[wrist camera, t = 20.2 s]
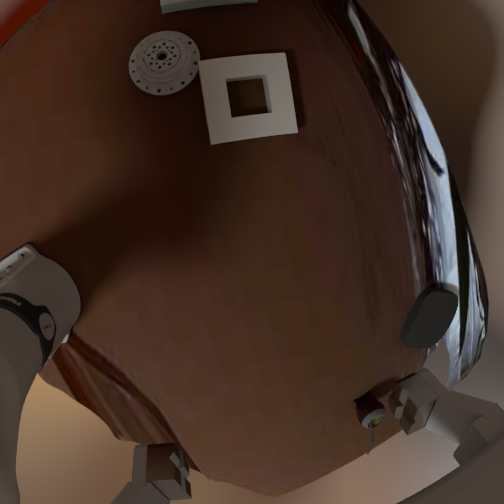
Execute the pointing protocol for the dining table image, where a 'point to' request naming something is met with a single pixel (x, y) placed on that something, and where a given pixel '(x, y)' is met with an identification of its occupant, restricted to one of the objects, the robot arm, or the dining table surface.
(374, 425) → the mate gourd
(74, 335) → the dining table surface
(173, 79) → the mechanical component
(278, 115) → the grey square frame
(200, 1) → the parts tray
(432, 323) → the media streaming box
